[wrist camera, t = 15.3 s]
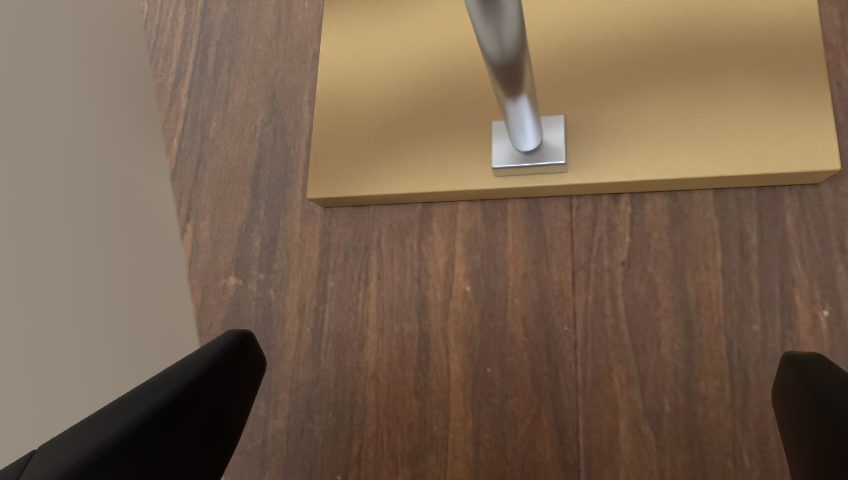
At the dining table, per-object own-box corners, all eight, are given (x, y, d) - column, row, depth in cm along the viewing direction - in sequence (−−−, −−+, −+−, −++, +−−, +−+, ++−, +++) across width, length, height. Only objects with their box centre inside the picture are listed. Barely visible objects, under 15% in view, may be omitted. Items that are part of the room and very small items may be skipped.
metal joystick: (566, 124, 19) (552, -142, 9) (567, 172, 18) (554, -45, 8) (495, 130, 20) (404, -105, 9) (494, 177, 19) (398, -16, 9)
